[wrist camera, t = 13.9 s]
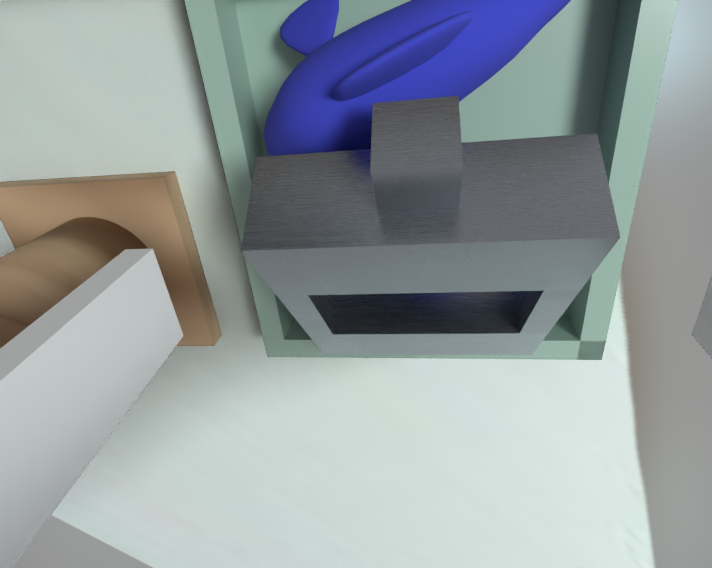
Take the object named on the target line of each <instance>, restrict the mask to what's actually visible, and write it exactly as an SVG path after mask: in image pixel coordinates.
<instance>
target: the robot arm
mask: <svg viewBox="0 0 712 568" xmlns="http://www.w3.org/2000/svg"><path fill="white" fill-rule="evenodd" d="M692 336H693V337H694V338H695V339H696V341H697V342H698V343H699V344H700V345H701V346H702V348H703V349H704V350H705V351H706V352H707V354H708V355H709V356H710V357H711V358H712V276H711V279H710V282H709V285H708V288H707V291H706V294H705V297H704V300H703V303H702V306H701V308H700V312H699V314H698V317H697V320H696V323H695V326H694V329H693V332H692ZM182 337H183V333H182V330H181V327H180V324H179V321H178V319H177V316H176V313H175V310H174V307H173V304H172V302H171V299H170V296H169V293H168V290H167V287H166V285H165V282H164V279H163V276H162V273H161V270H160V267H159V265H158V262H157V259H156V256H155V253H154V250H153V248H152V249H125V250H124V251H123V252H121V253H120V254H119V255H118V256H116V257H115V258H114V259H113V260H111V261H110V262H109V263H108V264H106V265H105V266H104V267H103V268H101V269H100V270H99V271H98V272H96V273H95V274H94V275H92V276H91V277H90V278H89V279H87V280H86V281H85V282H84V283H82V284H81V285H80V286H79V287H77V288H76V289H75V290H74V291H72V292H71V293H70V294H68V295H67V296H66V297H65V298H63V299H62V300H61V301H60V302H58V303H57V304H56V305H55V306H53V307H52V308H51V309H50V310H48V311H47V312H46V313H44V314H43V315H42V316H41V317H39V318H38V319H37V320H36V321H34V322H33V323H32V324H31V325H29V326H28V327H27V328H26V329H24V330H23V331H22V332H21V333H19V334H18V335H17V336H15V337H14V338H13V339H12V340H10V341H9V342H8V343H7V344H5V345H4V346H3V347H2V348H0V568H12V567H13V565H14V564H15V563H16V561H17V560H18V558H19V557H20V556H21V555H22V553H23V552H24V550H25V549H26V548H27V547H28V545H29V544H30V542H31V541H32V540H33V538H34V537H35V536H36V534H37V533H38V532H39V530H40V529H41V528H42V526H43V525H44V524H45V522H46V521H47V520H48V518H49V517H50V515H51V514H52V513H53V511H54V510H55V509H56V507H57V506H58V505H59V503H60V502H61V501H62V499H63V498H64V497H65V495H66V494H67V492H68V491H69V490H70V488H71V487H72V486H73V484H74V483H75V482H76V480H77V479H78V478H79V476H80V475H81V474H82V472H83V471H84V470H85V468H86V467H87V465H88V464H89V463H90V461H91V460H92V459H93V457H94V456H95V455H96V453H97V452H98V451H99V449H100V448H101V447H102V445H103V444H104V443H105V441H106V440H107V438H108V437H109V436H110V434H111V433H112V432H113V430H114V429H115V428H116V426H117V425H118V424H119V422H120V421H121V420H122V418H123V417H124V416H125V414H126V413H127V411H128V410H129V409H130V407H131V406H132V405H133V403H134V402H135V401H136V399H137V398H138V397H139V395H140V394H141V393H142V391H143V390H144V389H145V387H146V386H147V384H148V383H149V382H150V380H151V379H152V378H153V376H154V375H155V374H156V372H157V371H158V370H159V368H160V367H161V366H162V364H163V363H164V362H165V360H166V359H167V357H168V356H169V355H170V353H171V352H172V351H173V349H174V348H175V347H176V345H177V344H178V343H179V341H180V340H181V339H182Z"/></svg>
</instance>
